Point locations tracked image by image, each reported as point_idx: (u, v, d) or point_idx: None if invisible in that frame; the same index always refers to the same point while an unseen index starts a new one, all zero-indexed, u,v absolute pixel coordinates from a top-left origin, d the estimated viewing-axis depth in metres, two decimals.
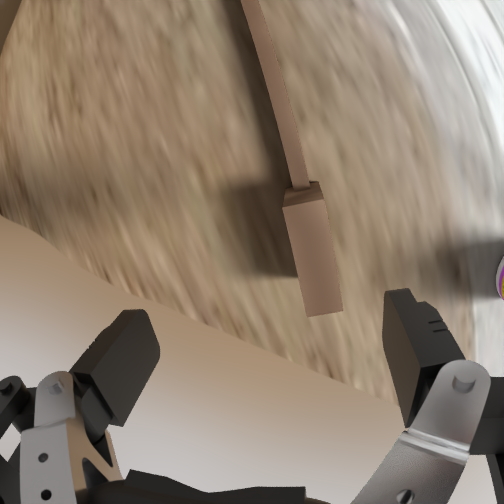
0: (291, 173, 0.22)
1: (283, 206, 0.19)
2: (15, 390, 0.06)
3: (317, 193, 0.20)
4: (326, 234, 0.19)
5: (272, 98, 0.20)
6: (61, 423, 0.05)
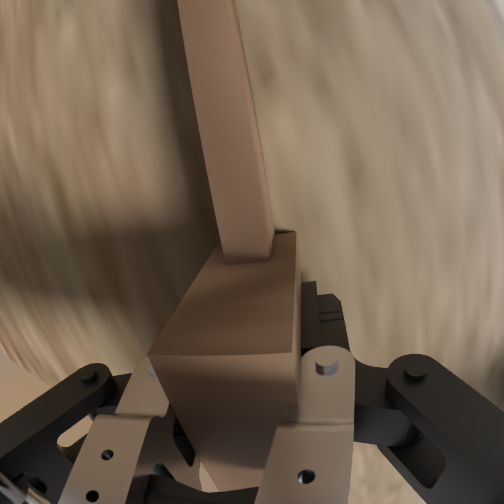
0: (220, 216, 0.08)
1: (155, 348, 0.06)
2: (103, 379, 0.07)
3: (279, 297, 0.07)
4: None
5: (185, 15, 0.06)
6: (143, 422, 0.05)
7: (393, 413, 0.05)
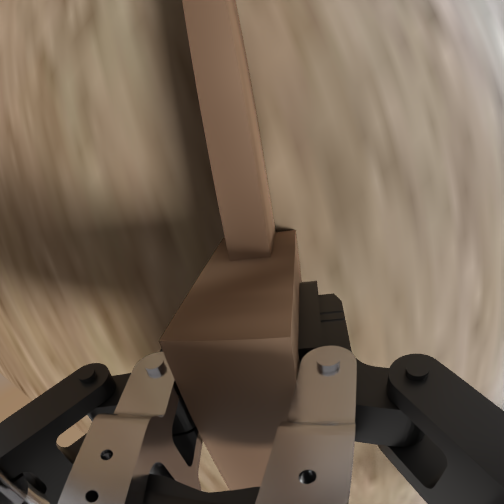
0: (224, 215, 0.09)
1: (166, 334, 0.06)
2: (102, 379, 0.07)
3: (279, 289, 0.07)
4: (288, 414, 0.06)
5: (191, 26, 0.07)
6: (142, 422, 0.05)
7: (395, 413, 0.05)
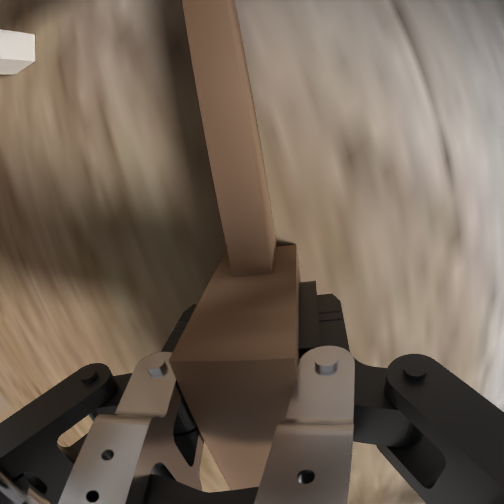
0: (227, 233, 0.09)
1: (175, 354, 0.06)
2: (103, 379, 0.07)
3: (282, 308, 0.07)
4: None
5: (194, 43, 0.07)
6: (143, 422, 0.05)
7: (392, 413, 0.05)
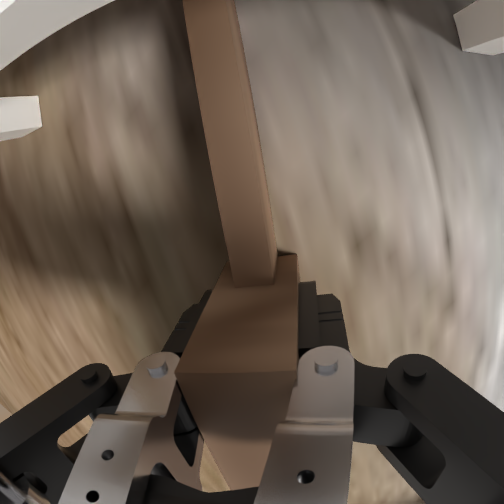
0: (230, 245, 0.09)
1: (180, 366, 0.07)
2: (103, 379, 0.07)
3: (284, 320, 0.08)
4: None
5: (196, 56, 0.07)
6: (143, 423, 0.05)
7: (392, 413, 0.05)
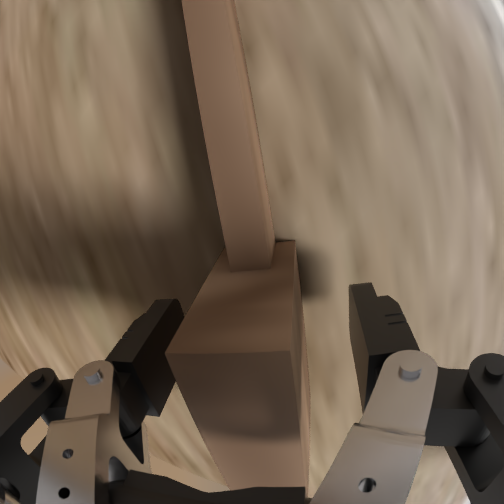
0: (226, 228, 0.09)
1: (171, 347, 0.06)
2: (48, 382, 0.07)
3: (279, 302, 0.08)
4: (287, 421, 0.07)
5: (193, 40, 0.07)
6: (93, 419, 0.05)
7: (474, 413, 0.04)
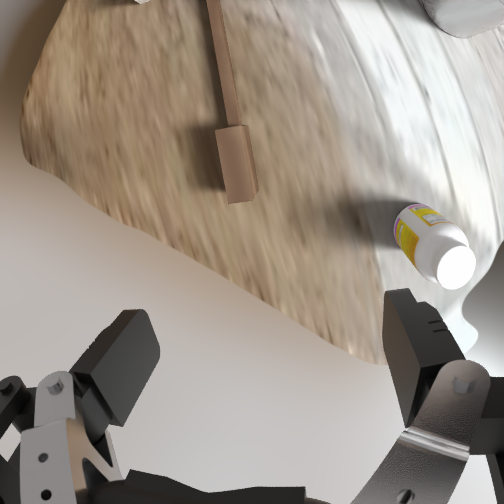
0: (227, 117, 0.34)
1: (215, 130, 0.31)
2: (15, 390, 0.06)
3: None
4: (240, 147, 0.31)
5: (220, 72, 0.32)
6: (61, 423, 0.05)
7: None
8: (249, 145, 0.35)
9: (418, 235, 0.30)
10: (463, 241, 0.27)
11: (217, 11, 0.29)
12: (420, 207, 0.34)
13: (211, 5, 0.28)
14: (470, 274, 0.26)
